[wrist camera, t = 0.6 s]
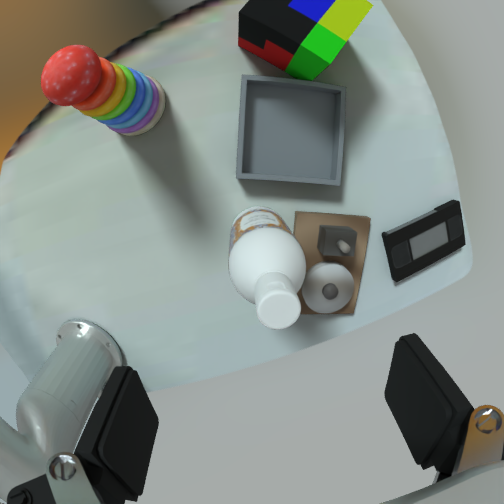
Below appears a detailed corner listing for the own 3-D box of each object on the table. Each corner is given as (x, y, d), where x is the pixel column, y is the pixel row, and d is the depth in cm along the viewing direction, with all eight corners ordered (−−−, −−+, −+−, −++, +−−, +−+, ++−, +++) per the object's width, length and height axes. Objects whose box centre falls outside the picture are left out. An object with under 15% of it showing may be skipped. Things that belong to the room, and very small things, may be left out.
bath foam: (282, 202, 37) (330, 253, 18) (287, 254, 39) (331, 345, 20) (227, 209, 37) (216, 269, 18) (234, 261, 39) (234, 359, 20)
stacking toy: (177, 86, 32) (125, 30, 14) (151, 144, 34) (76, 139, 16) (124, 70, 30) (46, 20, 12) (100, 125, 32) (5, 115, 15)
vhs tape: (379, 232, 39) (385, 236, 37) (451, 198, 38) (459, 200, 36) (390, 276, 42) (396, 282, 40) (458, 241, 40) (465, 244, 38)
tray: (332, 183, 36) (340, 185, 34) (236, 176, 36) (235, 178, 33) (338, 91, 32) (346, 87, 30) (241, 80, 32) (241, 74, 29)
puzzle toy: (279, -4, 28) (291, -43, 18) (343, 34, 30) (373, 5, 20) (238, 45, 30) (238, 12, 21) (306, 85, 32) (330, 64, 23)
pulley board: (350, 309, 42) (365, 331, 36) (285, 309, 42) (292, 334, 36) (367, 216, 38) (388, 227, 32) (295, 211, 37) (306, 221, 31)
